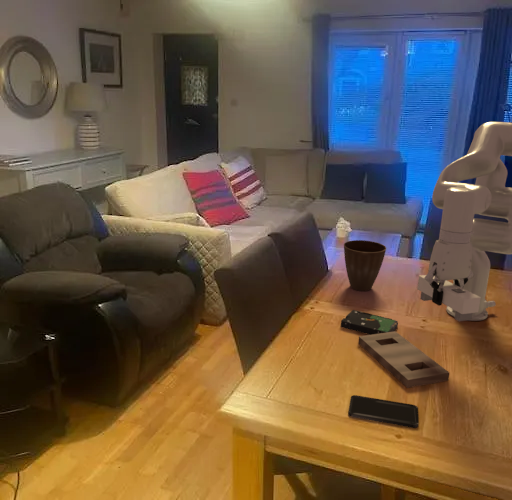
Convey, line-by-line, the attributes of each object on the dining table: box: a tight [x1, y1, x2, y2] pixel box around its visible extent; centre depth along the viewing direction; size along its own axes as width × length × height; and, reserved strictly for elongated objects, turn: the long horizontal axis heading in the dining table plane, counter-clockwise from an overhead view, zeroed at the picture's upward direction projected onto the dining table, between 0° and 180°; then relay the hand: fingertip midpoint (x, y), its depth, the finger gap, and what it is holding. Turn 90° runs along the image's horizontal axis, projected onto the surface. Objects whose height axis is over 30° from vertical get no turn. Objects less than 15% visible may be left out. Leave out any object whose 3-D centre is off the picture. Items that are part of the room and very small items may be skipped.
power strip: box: [416, 274, 481, 322], centre depth 136 cm, size 5×18×7 cm, turn 20°
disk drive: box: [340, 309, 399, 335], centre depth 157 cm, size 10×3×15 cm
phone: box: [347, 394, 420, 429], centre depth 115 cm, size 8×1×15 cm
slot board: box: [358, 330, 450, 389], centre depth 137 cm, size 24×12×2 cm, turn 18°
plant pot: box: [343, 239, 387, 292], centre depth 187 cm, size 15×15×16 cm
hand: (445, 301), depth 137 cm, fingers closed on power strip, 5 cm apart
